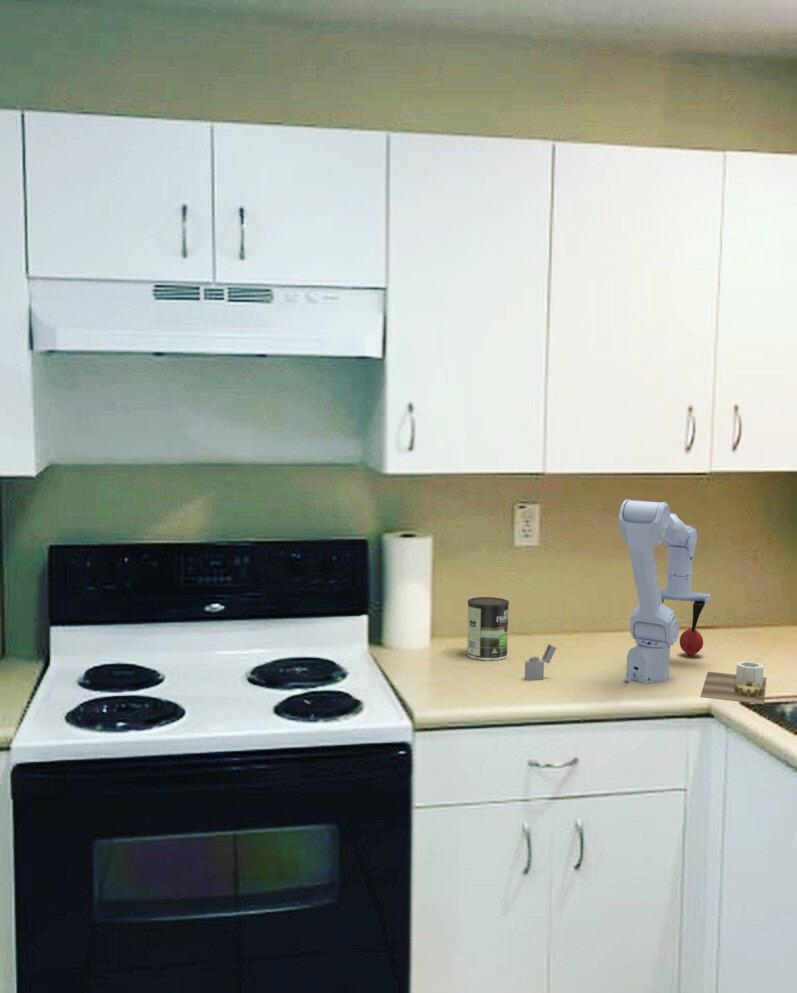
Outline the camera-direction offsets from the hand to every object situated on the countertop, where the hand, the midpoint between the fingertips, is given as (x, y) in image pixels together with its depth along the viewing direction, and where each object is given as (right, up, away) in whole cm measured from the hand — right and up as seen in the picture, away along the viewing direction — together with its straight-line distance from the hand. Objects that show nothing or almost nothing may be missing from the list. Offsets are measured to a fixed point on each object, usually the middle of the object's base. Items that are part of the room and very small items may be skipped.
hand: (677, 629), depth 247 cm
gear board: (+8, -11, -19) cm, 23 cm away
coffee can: (-45, -8, +10) cm, 47 cm away
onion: (+7, -9, +12) cm, 16 cm away
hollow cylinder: (+12, -10, -16) cm, 23 cm away
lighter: (-35, -10, -10) cm, 37 cm away
